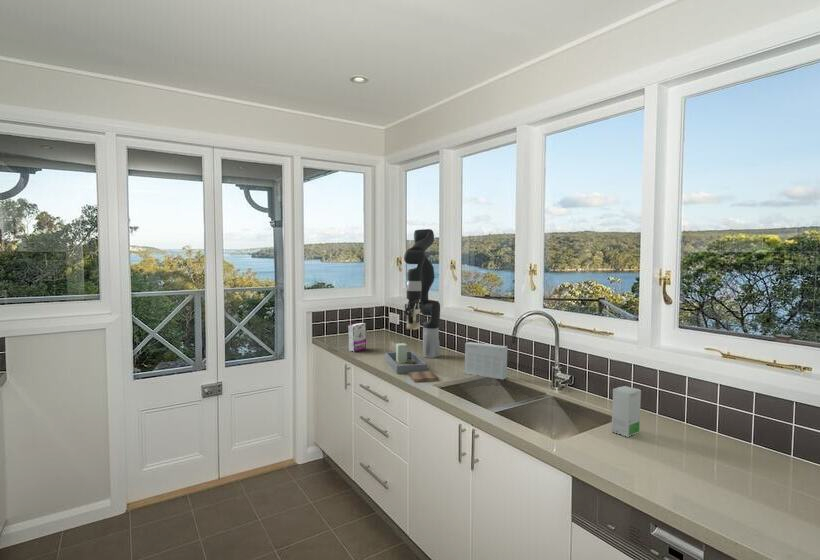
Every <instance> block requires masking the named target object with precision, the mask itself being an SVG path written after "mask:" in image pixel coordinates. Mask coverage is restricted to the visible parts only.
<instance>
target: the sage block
mask: <svg viewBox="0 0 820 560" xmlns="http://www.w3.org/2000/svg"><path fill="white" fill-rule="evenodd" d="M407 347H408V344H406V343H404V342H402V343H396V344H395V352H396V359H395V362H396V361H397V362H398V363H397V362H396V363H397V364H406V363H405V362H407V363H408V359H407V352H408V348H407Z"/></svg>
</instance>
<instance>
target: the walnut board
mask: <svg viewBox="0 0 820 560" xmlns="http://www.w3.org/2000/svg"><path fill="white" fill-rule="evenodd" d="M407 375H409V376H410V377H411V378H410V377H409V376H408V377H409V378H410V379H411V380H412V381H413V382H414V383H419V382H418V381H424V382H436V381H439V376H437V374H435V373H434V372H433V371H431V370H427V371H422V372H408V373H407Z"/></svg>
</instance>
